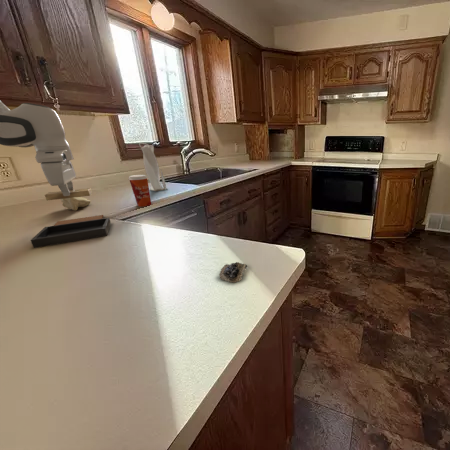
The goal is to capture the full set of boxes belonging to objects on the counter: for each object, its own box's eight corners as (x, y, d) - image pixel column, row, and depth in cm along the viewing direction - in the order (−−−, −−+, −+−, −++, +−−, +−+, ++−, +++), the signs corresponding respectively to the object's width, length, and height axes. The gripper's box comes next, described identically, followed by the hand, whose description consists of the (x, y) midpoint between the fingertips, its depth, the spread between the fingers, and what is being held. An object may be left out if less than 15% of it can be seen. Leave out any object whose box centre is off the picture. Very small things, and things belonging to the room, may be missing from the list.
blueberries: (246, 263, 61) (245, 256, 61) (251, 279, 54) (251, 272, 53) (218, 268, 59) (217, 261, 58) (220, 285, 52) (219, 278, 51)
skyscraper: (153, 192, 146) (142, 142, 136) (146, 190, 150) (135, 142, 141) (167, 189, 153) (157, 142, 143) (160, 188, 157) (150, 142, 147)
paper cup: (140, 208, 112) (132, 177, 108) (132, 205, 116) (124, 176, 111) (157, 204, 119) (150, 175, 114) (148, 202, 122) (142, 174, 118)
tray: (33, 248, 72) (30, 240, 71) (47, 234, 83) (45, 226, 82) (107, 235, 81) (104, 228, 80) (111, 224, 92) (109, 217, 91)
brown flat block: (50, 230, 86) (50, 228, 86) (58, 222, 95) (57, 221, 94) (100, 222, 93) (99, 221, 93) (103, 216, 101) (102, 214, 101)
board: (46, 200, 86) (44, 194, 85) (50, 197, 90) (48, 192, 89) (89, 195, 91) (88, 190, 91) (92, 193, 95) (90, 188, 95)
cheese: (74, 209, 120) (39, 195, 106) (84, 196, 122) (51, 182, 108) (94, 221, 116) (60, 209, 102) (104, 209, 118) (72, 195, 104)
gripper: (52, 154, 92) (65, 190, 97) (33, 157, 76) (49, 200, 81) (74, 153, 95) (85, 188, 100) (60, 156, 79) (74, 198, 84)
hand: (69, 194), depth 90 cm, fingers closed on board, 5 cm apart
